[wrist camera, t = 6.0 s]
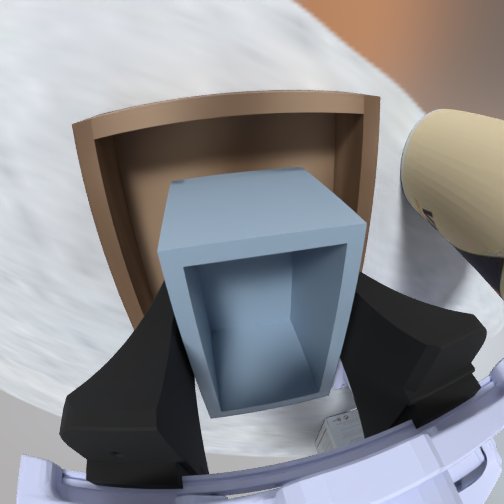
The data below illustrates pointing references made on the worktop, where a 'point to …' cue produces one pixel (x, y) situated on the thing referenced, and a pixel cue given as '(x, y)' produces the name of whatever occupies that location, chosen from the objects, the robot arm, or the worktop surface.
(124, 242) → the walnut crate
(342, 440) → the supplement box
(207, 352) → the slate crate
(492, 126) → the coffee cup
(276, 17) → the worktop surface
